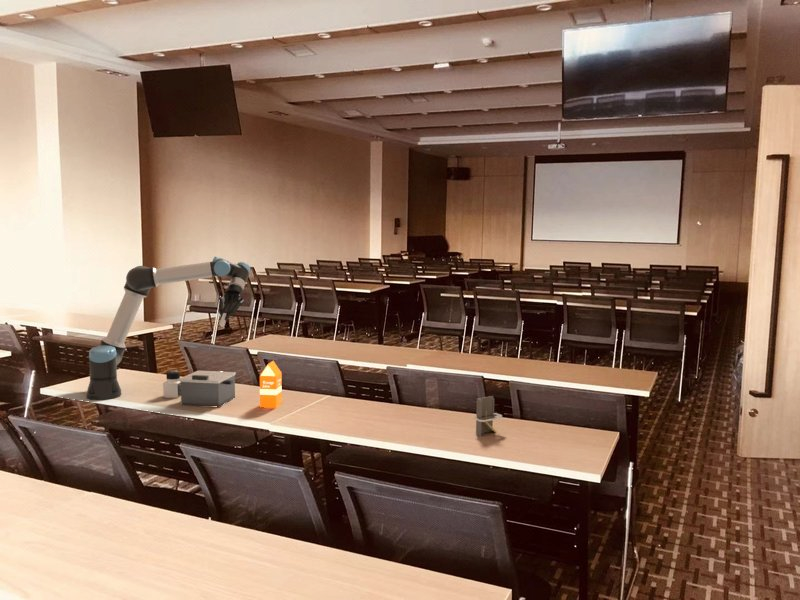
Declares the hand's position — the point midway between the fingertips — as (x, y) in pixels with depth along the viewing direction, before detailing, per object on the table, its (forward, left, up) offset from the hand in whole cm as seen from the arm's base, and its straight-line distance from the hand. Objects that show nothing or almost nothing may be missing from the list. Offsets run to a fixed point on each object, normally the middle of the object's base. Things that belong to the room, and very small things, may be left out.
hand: (221, 325), depth 307 cm
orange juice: (+28, +19, -34) cm, 48 cm away
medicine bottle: (-4, -22, -34) cm, 41 cm away
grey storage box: (+12, -7, -34) cm, 37 cm away
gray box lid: (+12, -7, -23) cm, 27 cm away
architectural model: (+98, +92, -34) cm, 139 cm away
